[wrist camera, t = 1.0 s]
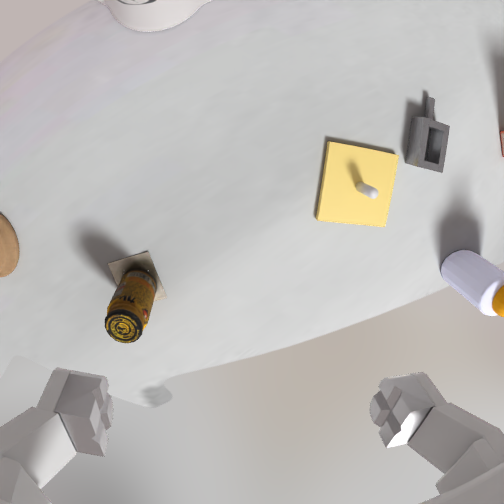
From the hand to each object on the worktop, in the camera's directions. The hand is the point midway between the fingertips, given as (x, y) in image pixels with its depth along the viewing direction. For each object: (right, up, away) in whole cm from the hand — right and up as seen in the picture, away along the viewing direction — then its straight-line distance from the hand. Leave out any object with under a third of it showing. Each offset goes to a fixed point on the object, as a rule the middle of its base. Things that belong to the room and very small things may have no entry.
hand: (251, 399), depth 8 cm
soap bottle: (+44, +1, +49) cm, 65 cm away
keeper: (+16, +14, +39) cm, 45 cm away
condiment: (-18, 0, +41) cm, 45 cm away
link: (+28, +24, +37) cm, 52 cm away
